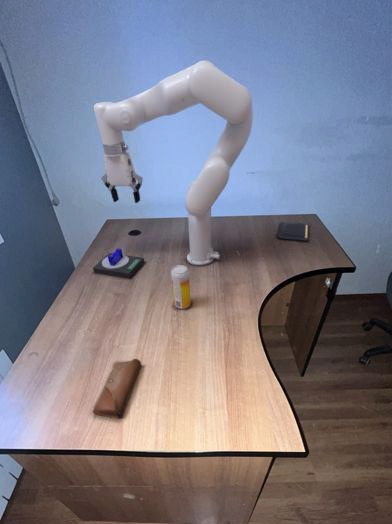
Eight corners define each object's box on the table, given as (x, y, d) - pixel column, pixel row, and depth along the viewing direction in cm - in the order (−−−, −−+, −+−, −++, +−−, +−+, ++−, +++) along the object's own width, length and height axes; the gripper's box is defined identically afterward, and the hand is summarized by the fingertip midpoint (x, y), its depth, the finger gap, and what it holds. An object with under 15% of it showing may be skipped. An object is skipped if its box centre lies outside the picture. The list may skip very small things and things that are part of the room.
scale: (144, 262, 122) (143, 256, 120) (130, 278, 113) (128, 272, 111) (110, 257, 127) (108, 251, 124) (94, 272, 118) (92, 266, 115)
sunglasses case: (114, 361, 81) (120, 350, 76) (136, 370, 83) (143, 359, 78) (90, 414, 69) (96, 404, 64) (116, 423, 71) (123, 414, 66)
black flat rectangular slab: (281, 219, 146) (310, 222, 142) (280, 223, 147) (309, 226, 143) (277, 235, 133) (308, 238, 129) (276, 238, 134) (307, 242, 131)
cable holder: (116, 256, 121) (114, 247, 118) (123, 257, 120) (121, 248, 117) (107, 264, 116) (104, 256, 113) (114, 265, 115) (111, 257, 112)
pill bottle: (192, 301, 101) (191, 265, 90) (187, 311, 97) (184, 275, 86) (178, 298, 102) (174, 263, 92) (172, 308, 99) (167, 272, 88)
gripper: (141, 146, 95) (150, 199, 107) (99, 147, 99) (112, 197, 111) (131, 151, 90) (142, 205, 102) (88, 151, 94) (103, 203, 107)
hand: (126, 201), depth 107 cm, fingers open, 9 cm apart
